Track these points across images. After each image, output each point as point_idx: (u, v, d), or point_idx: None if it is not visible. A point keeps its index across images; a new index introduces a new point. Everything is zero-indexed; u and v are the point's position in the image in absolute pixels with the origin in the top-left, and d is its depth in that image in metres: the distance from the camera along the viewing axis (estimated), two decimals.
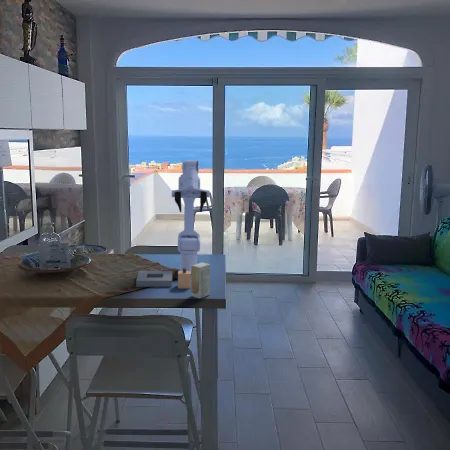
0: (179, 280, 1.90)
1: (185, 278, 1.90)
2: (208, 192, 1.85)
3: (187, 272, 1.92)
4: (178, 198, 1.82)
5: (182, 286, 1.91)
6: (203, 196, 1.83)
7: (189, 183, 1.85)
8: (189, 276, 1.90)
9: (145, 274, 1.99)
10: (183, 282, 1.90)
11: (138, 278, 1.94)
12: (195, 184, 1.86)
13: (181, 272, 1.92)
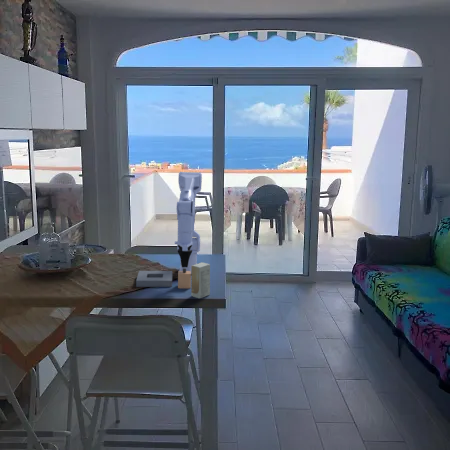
0: (179, 280, 1.90)
1: (185, 278, 1.90)
2: (182, 248, 1.83)
3: (187, 272, 1.92)
4: None
5: (182, 286, 1.91)
6: None
7: None
8: (189, 276, 1.90)
9: (145, 274, 1.99)
10: (183, 282, 1.90)
11: (138, 278, 1.94)
12: (179, 237, 1.87)
13: (181, 272, 1.92)
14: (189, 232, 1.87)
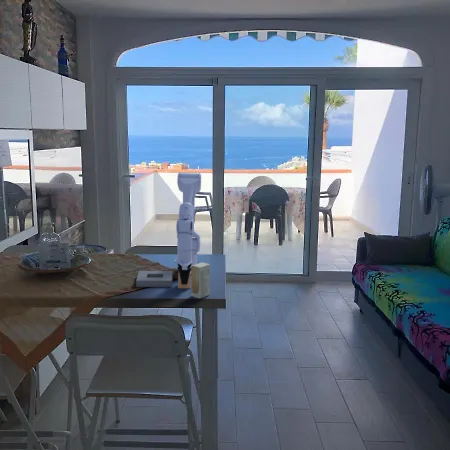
0: (179, 280, 1.90)
1: None
2: (182, 267, 1.84)
3: None
4: None
5: (182, 286, 1.91)
6: (179, 272, 1.88)
7: (177, 255, 1.91)
8: (189, 276, 1.90)
9: (145, 274, 1.99)
10: None
11: (138, 278, 1.94)
12: (179, 256, 1.89)
13: None
14: (189, 251, 1.88)
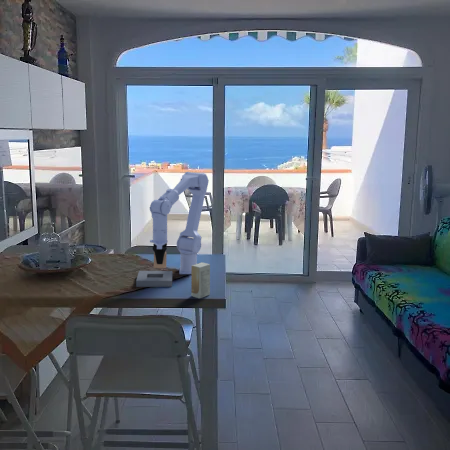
0: (155, 260, 1.94)
1: None
2: (156, 246, 1.88)
3: None
4: None
5: (158, 266, 1.94)
6: (154, 252, 1.92)
7: None
8: (165, 256, 1.94)
9: (145, 274, 1.99)
10: None
11: (138, 278, 1.94)
12: (154, 236, 1.92)
13: None
14: (164, 231, 1.92)
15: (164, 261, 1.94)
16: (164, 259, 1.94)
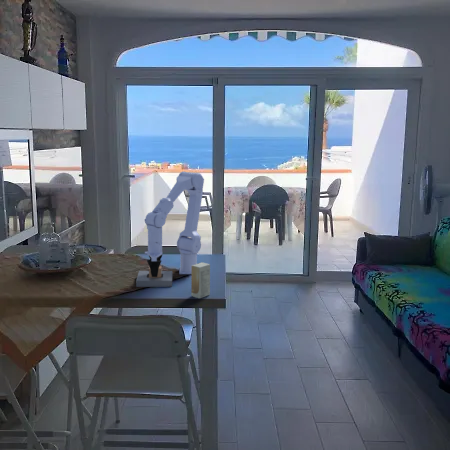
0: (150, 275, 1.96)
1: None
2: (151, 258, 1.90)
3: None
4: None
5: None
6: (149, 265, 1.92)
7: None
8: (160, 271, 1.96)
9: (145, 274, 1.99)
10: (154, 277, 1.96)
11: (138, 278, 1.94)
12: (149, 248, 1.94)
13: None
14: (159, 243, 1.94)
15: (159, 276, 1.96)
16: (159, 274, 1.96)
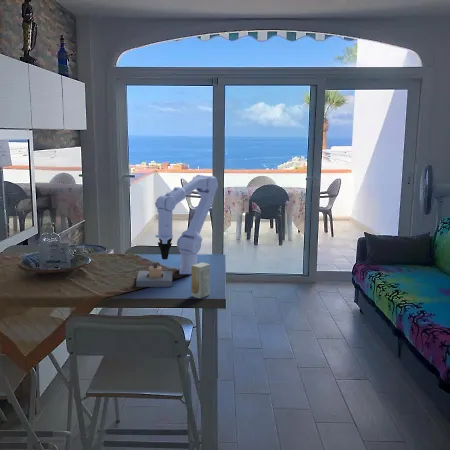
0: (150, 275, 1.96)
1: (156, 273, 1.96)
2: (162, 241, 1.93)
3: (158, 267, 1.98)
4: None
5: None
6: (159, 247, 1.95)
7: None
8: (160, 271, 1.96)
9: (145, 274, 1.99)
10: (154, 277, 1.96)
11: (138, 278, 1.94)
12: (160, 231, 1.97)
13: (152, 267, 1.97)
14: (169, 226, 1.97)
15: (159, 276, 1.96)
16: (159, 274, 1.96)
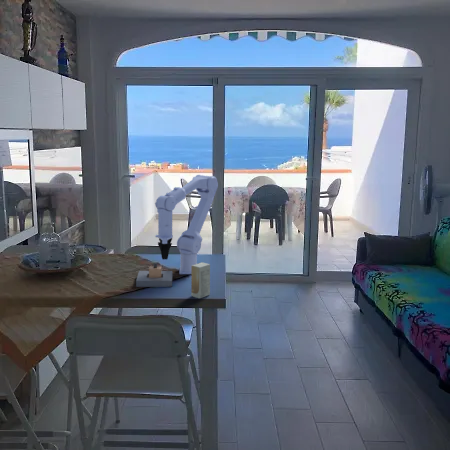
0: (150, 275, 1.96)
1: (156, 273, 1.96)
2: (162, 241, 1.93)
3: (158, 267, 1.98)
4: None
5: None
6: (159, 247, 1.95)
7: None
8: (160, 271, 1.96)
9: (145, 274, 1.99)
10: (154, 277, 1.96)
11: (138, 278, 1.94)
12: (160, 231, 1.97)
13: (152, 267, 1.97)
14: (169, 226, 1.97)
15: (159, 276, 1.96)
16: (159, 274, 1.96)
